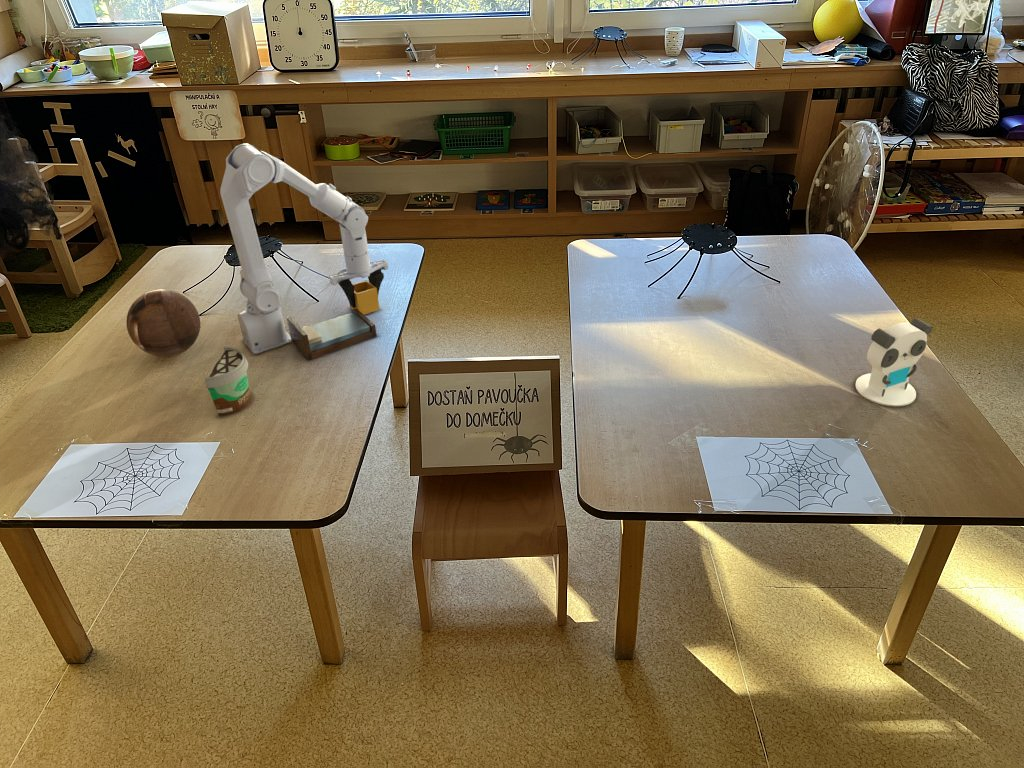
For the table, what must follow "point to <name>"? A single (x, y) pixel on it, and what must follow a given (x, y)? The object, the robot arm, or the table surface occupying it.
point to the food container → (229, 383)
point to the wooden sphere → (163, 323)
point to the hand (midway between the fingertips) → (363, 302)
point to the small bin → (365, 297)
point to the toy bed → (331, 334)
